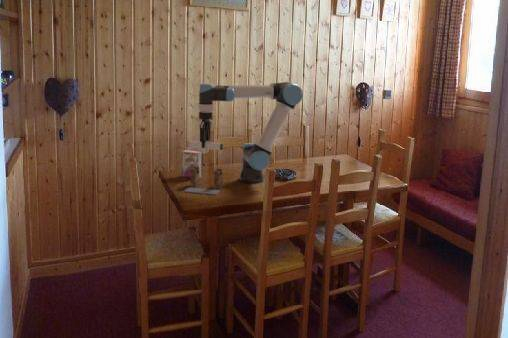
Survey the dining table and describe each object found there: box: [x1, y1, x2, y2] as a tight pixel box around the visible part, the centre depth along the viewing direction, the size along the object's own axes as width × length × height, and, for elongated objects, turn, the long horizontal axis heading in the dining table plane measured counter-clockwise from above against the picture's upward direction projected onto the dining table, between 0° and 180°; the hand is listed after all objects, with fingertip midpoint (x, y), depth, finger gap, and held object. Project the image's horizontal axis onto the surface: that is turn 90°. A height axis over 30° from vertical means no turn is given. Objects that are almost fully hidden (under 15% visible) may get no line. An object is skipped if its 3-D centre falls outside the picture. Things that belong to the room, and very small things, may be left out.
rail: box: [186, 139, 224, 151], centre depth 287 cm, size 20×4×4 cm, turn 76°
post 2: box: [213, 167, 223, 190], centre depth 293 cm, size 3×7×11 cm, turn 168°
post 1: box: [190, 166, 200, 188], centre depth 296 cm, size 3×7×11 cm, turn 168°
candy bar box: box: [181, 149, 202, 179], centre depth 313 cm, size 11×5×16 cm, turn 70°
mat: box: [183, 186, 221, 196], centre depth 285 cm, size 19×8×1 cm, turn 78°
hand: (204, 152), depth 288 cm, fingers closed on rail, 3 cm apart
